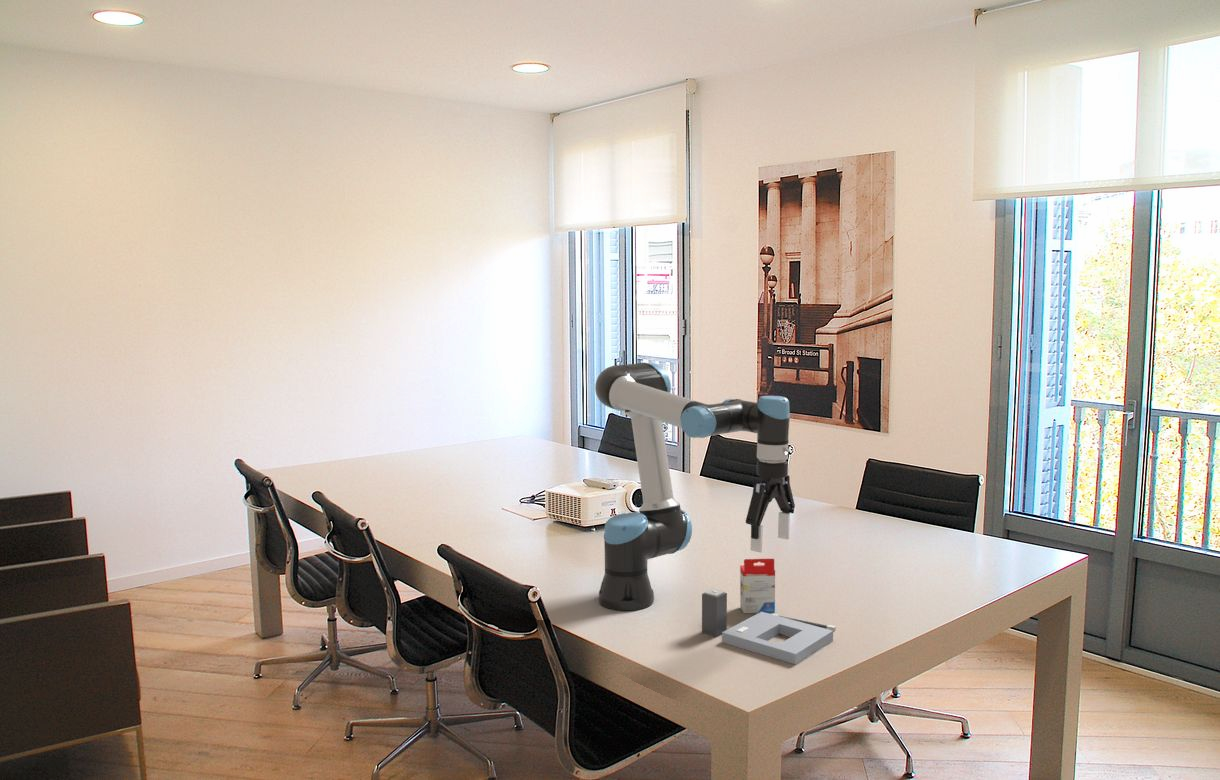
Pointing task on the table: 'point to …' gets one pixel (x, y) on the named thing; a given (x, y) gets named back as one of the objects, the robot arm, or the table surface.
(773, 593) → the ink box
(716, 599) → the charger plug
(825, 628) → the cable
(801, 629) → the plate
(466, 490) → the table surface
